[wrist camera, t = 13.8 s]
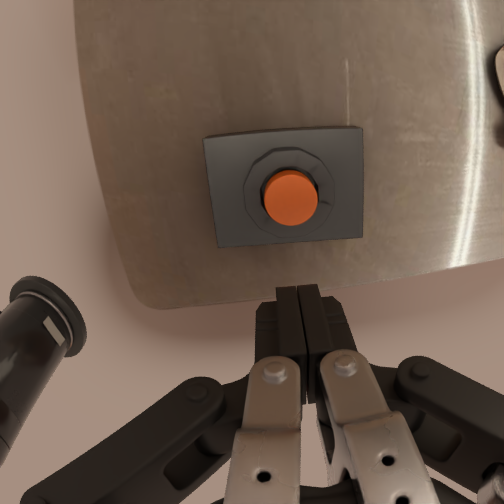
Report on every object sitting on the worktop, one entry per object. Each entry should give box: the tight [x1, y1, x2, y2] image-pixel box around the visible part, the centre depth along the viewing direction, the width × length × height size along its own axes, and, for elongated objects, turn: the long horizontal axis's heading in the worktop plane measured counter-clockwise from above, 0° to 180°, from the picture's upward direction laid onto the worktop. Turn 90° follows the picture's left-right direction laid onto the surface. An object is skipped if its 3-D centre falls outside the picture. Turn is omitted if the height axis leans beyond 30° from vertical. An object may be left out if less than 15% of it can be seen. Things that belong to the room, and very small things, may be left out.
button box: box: [203, 126, 364, 248], centre depth 24 cm, size 12×9×4 cm
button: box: [264, 170, 318, 226], centre depth 22 cm, size 4×4×2 cm
